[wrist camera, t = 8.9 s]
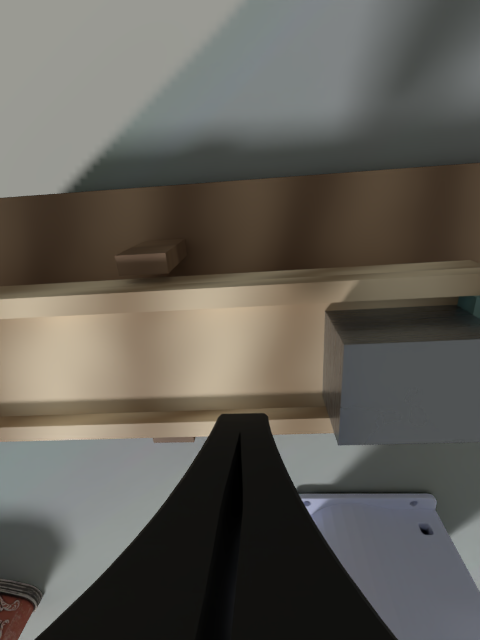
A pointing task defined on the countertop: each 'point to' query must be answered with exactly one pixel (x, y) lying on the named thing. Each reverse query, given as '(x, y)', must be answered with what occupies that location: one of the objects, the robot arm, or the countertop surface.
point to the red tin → (16, 607)
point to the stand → (243, 227)
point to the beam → (191, 347)
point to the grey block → (402, 375)
